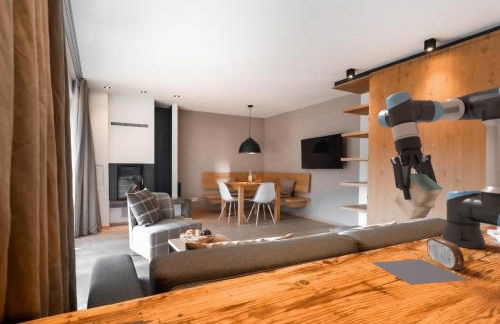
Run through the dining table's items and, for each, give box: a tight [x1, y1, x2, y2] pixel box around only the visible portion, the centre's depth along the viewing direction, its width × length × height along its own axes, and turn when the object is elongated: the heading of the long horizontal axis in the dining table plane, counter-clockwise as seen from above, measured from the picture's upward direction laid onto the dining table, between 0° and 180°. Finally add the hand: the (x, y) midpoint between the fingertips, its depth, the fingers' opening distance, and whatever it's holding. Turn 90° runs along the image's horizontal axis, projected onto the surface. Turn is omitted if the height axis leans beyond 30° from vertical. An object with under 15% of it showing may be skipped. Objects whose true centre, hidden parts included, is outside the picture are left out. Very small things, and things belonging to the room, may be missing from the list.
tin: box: [426, 236, 465, 271], centre depth 92 cm, size 15×3×8 cm, turn 179°
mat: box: [370, 258, 470, 285], centre depth 86 cm, size 20×17×1 cm
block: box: [393, 172, 443, 220], centre depth 87 cm, size 6×8×12 cm
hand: (421, 209), depth 85 cm, fingers closed on block, 6 cm apart
